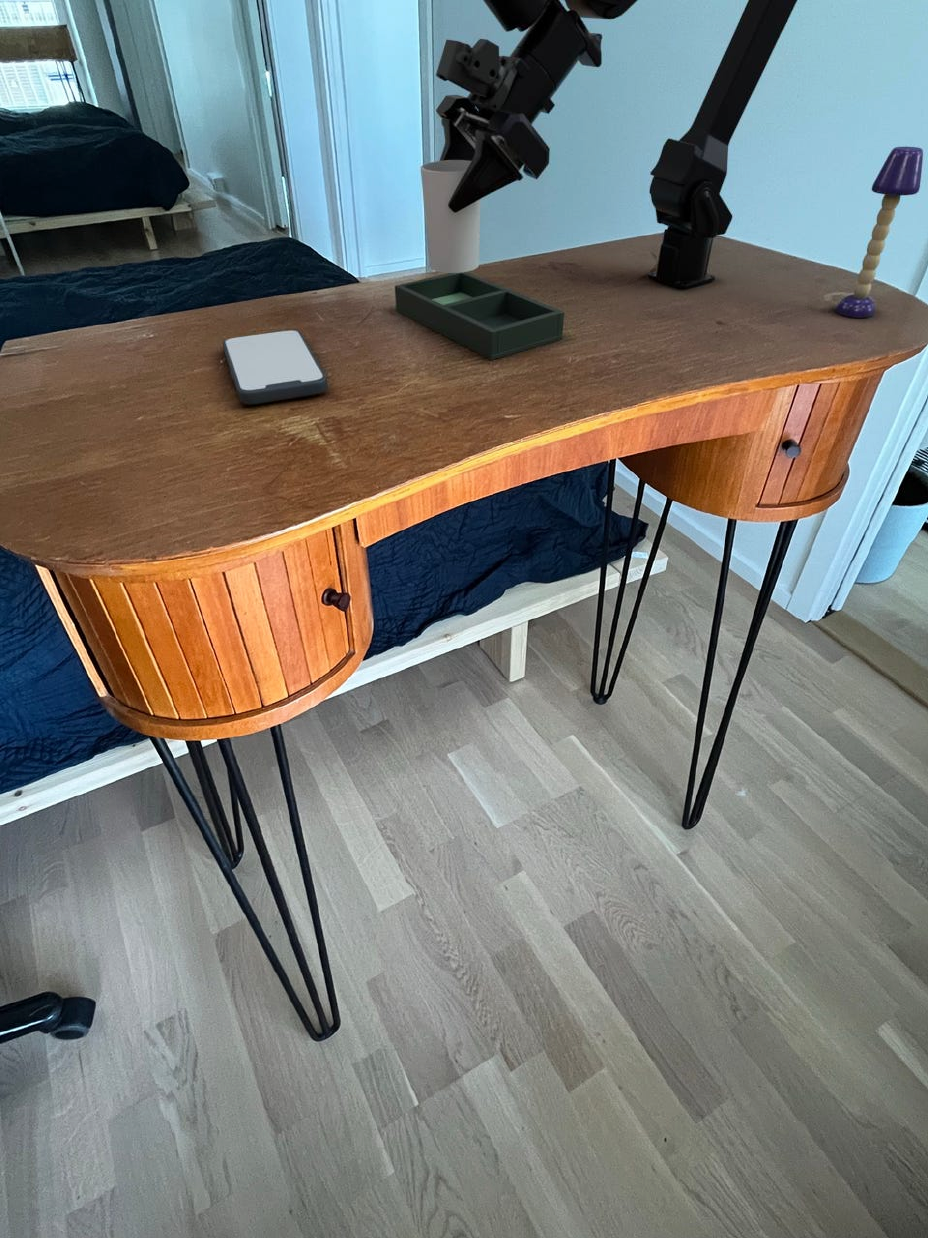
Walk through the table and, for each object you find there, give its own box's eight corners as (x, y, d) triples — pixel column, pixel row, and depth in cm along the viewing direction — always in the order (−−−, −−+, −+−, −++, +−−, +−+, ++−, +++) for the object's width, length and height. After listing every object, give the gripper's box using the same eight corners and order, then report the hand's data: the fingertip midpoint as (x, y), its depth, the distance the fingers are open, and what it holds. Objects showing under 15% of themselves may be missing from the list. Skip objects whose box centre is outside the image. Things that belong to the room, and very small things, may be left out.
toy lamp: (824, 309, 87) (875, 146, 75) (849, 302, 88) (903, 142, 77) (858, 320, 83) (917, 153, 72) (883, 313, 85) (944, 148, 74)
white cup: (489, 259, 85) (489, 160, 78) (472, 276, 80) (471, 173, 73) (437, 255, 86) (432, 158, 80) (417, 271, 82) (411, 170, 75)
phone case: (223, 353, 79) (241, 410, 67) (219, 338, 78) (237, 393, 66) (302, 341, 81) (332, 395, 70) (299, 327, 80) (330, 379, 69)
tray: (462, 294, 92) (462, 269, 90) (562, 339, 80) (564, 311, 78) (396, 310, 88) (394, 285, 86) (491, 360, 76) (491, 331, 74)
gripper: (450, -1, 75) (361, 133, 80) (526, 1, 62) (415, 161, 67) (515, 87, 82) (431, 205, 87) (595, 105, 69) (492, 243, 74)
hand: (440, 203), depth 78 cm, fingers closed on white cup, 6 cm apart
